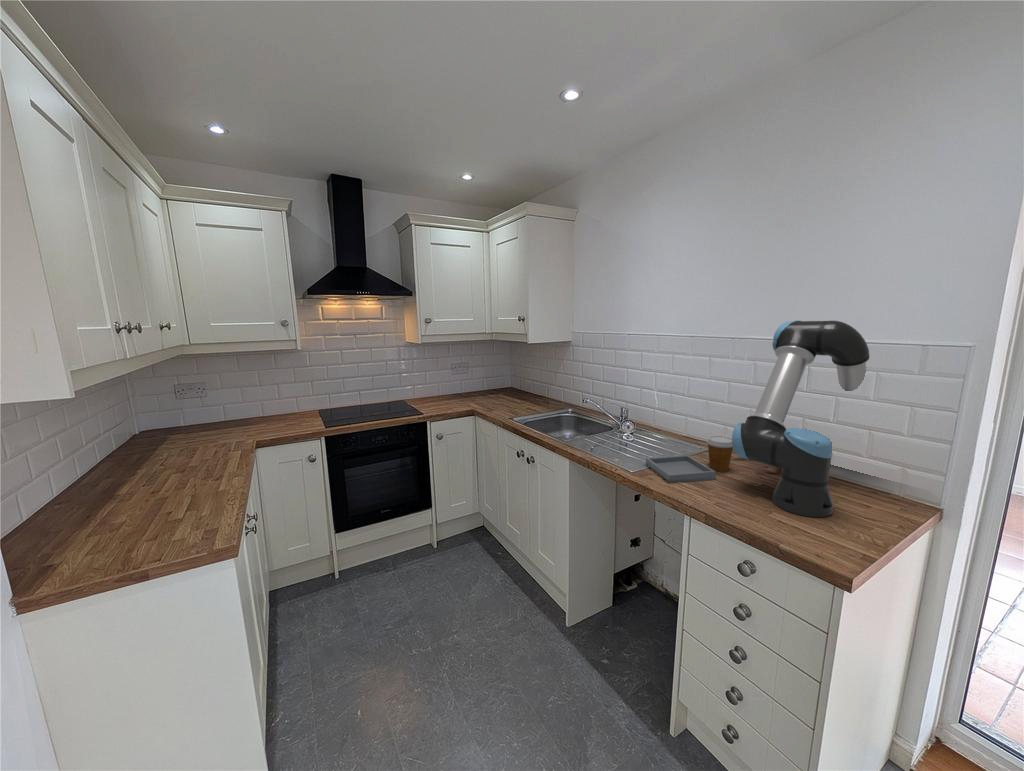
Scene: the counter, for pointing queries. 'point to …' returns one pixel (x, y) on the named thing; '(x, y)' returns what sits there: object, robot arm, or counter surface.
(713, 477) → the tray
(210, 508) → the counter surface
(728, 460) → the disposable coffee cup
